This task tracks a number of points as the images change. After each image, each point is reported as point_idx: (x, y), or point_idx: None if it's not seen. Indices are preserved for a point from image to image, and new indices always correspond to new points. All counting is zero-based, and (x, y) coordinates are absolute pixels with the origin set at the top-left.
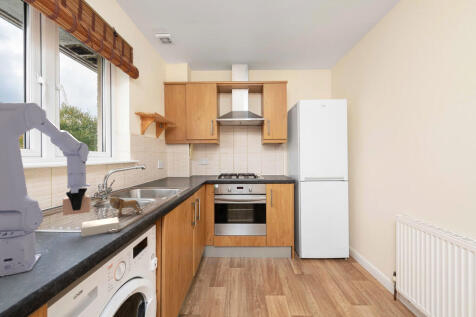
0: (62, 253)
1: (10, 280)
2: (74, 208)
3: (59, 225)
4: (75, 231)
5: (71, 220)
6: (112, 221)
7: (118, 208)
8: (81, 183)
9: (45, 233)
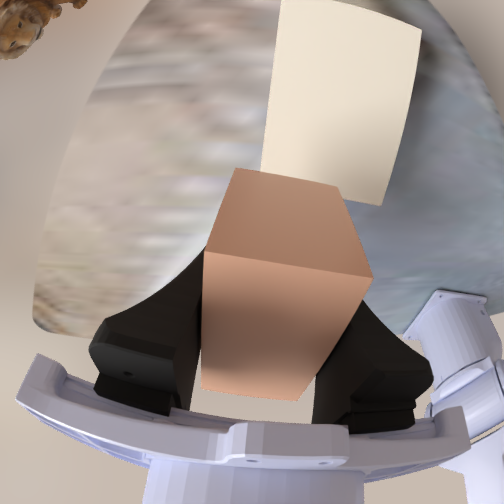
0: (466, 250)
1: None
2: None
3: (121, 245)
4: None
5: (68, 209)
6: (380, 46)
7: (54, 4)
8: (362, 497)
9: None
